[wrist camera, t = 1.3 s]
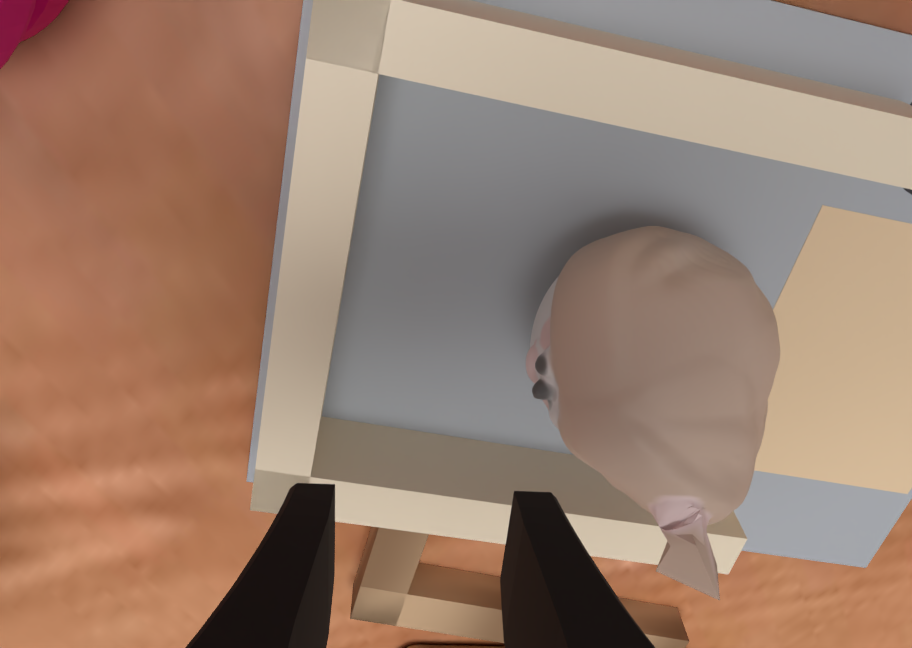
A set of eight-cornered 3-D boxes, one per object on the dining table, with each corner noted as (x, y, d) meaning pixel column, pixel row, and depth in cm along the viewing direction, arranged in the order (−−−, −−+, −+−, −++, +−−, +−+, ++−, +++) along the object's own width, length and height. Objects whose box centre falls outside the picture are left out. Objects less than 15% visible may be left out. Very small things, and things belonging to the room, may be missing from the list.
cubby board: (1163, 97, 20) (1277, 130, 18) (861, 561, 28) (908, 632, 26) (318, -113, 17) (299, -112, 15) (248, 475, 25) (227, 546, 23)
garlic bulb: (475, 356, 23) (499, 561, 16) (577, 162, 20) (659, 308, 13) (666, 424, 25) (764, 638, 18) (786, 252, 22) (958, 426, 15)
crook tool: (708, 552, 28) (723, 587, 27) (659, 633, 30) (671, 669, 29) (381, 491, 26) (379, 525, 25) (353, 582, 28) (350, 618, 27)
